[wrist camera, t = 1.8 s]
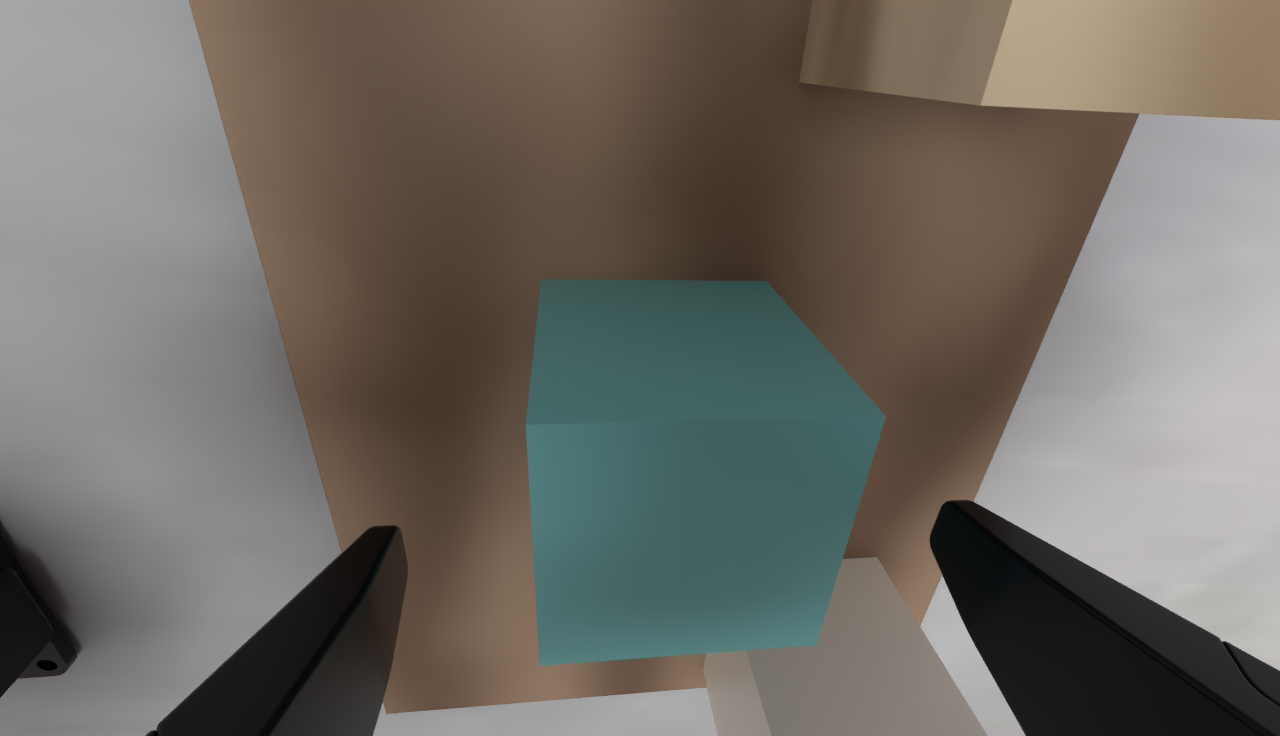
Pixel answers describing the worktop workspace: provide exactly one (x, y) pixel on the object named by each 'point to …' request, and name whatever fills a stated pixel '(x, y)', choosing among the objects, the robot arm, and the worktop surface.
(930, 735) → the off-white block
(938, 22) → the birch block
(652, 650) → the teal block
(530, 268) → the walnut board
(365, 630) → the robot arm
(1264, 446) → the worktop surface
